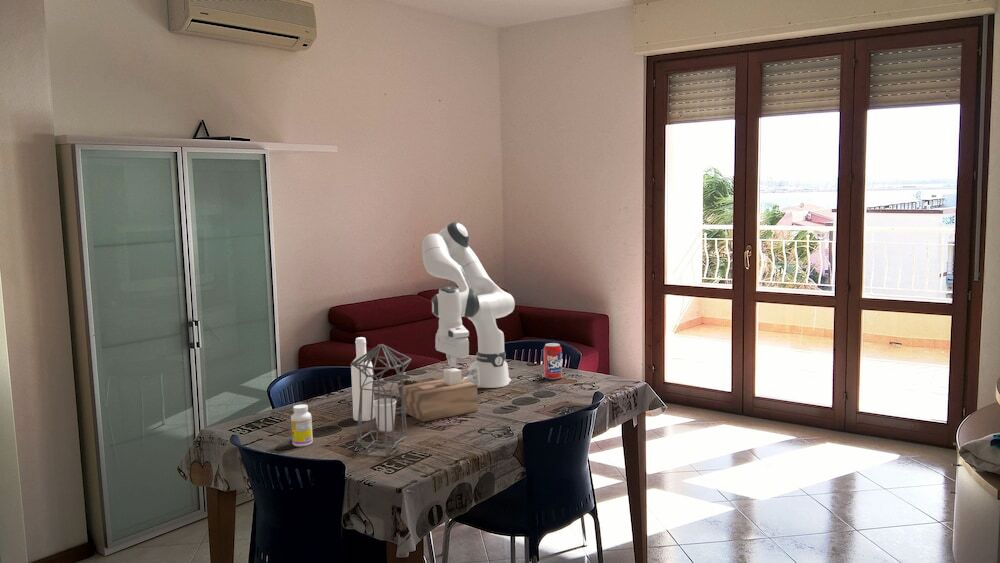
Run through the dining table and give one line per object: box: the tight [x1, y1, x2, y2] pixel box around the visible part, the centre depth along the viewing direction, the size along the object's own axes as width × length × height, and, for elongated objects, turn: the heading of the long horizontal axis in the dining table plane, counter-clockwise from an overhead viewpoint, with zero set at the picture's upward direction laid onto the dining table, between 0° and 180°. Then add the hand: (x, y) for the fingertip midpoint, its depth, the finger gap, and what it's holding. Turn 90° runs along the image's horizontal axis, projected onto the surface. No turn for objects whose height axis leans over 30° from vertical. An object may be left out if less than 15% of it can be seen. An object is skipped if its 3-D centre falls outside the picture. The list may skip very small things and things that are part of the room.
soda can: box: [543, 342, 563, 381], centre depth 337 cm, size 8×8×15 cm
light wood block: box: [403, 378, 479, 423], centre depth 290 cm, size 16×23×10 cm
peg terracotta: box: [418, 385, 436, 390], centre depth 287 cm, size 5×5×9 cm
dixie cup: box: [373, 397, 398, 432], centre depth 270 cm, size 8×8×10 cm
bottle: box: [350, 336, 376, 422], centre depth 282 cm, size 8×8×30 cm
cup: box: [397, 379, 418, 397], centre depth 305 cm, size 8×7×8 cm
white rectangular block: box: [442, 367, 463, 386], centre depth 292 cm, size 5×5×9 cm
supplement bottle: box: [290, 403, 314, 448], centre depth 256 cm, size 7×7×13 cm
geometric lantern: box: [349, 343, 412, 458], centre depth 244 cm, size 16×16×35 cm
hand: (452, 365), depth 292 cm, fingers closed
